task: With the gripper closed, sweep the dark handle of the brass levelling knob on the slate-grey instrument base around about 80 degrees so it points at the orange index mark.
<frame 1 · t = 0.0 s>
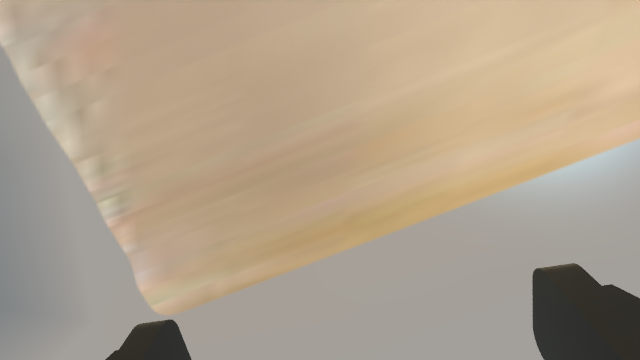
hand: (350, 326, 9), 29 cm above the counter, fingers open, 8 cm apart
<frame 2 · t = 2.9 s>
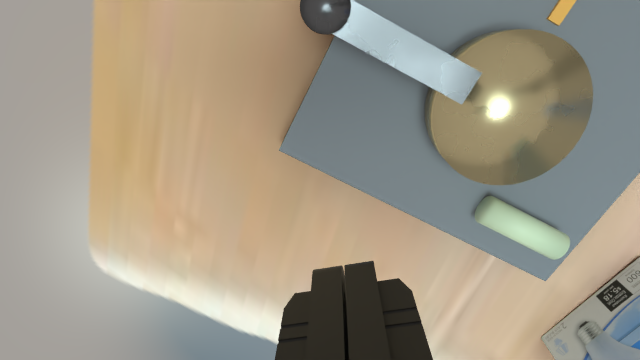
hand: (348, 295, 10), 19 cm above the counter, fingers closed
instrument base: (484, 101, 26), on the counter
light bulb box: (611, 316, 32), on the counter
brass knob: (449, 78, 21), point 5 cm above the counter, hinge at 0.0°
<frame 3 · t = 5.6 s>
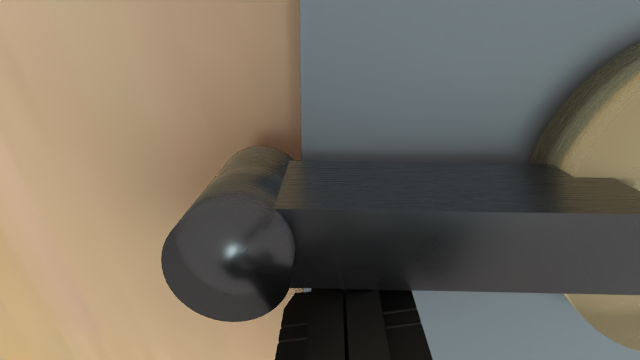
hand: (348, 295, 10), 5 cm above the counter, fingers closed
instrument base: (624, 160, 13), on the counter
brass knob: (576, 218, 9), point 5 cm above the counter, hinge at 0.0°, touching gripper
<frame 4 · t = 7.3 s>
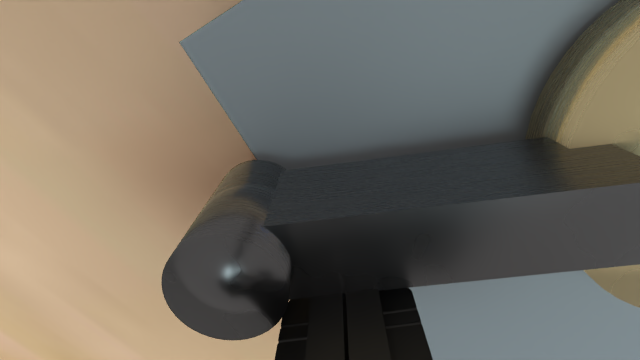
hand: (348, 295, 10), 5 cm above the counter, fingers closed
instrument base: (632, 116, 13), on the counter
brass knob: (576, 190, 9), point 5 cm above the counter, hinge at -21.2°, touching gripper
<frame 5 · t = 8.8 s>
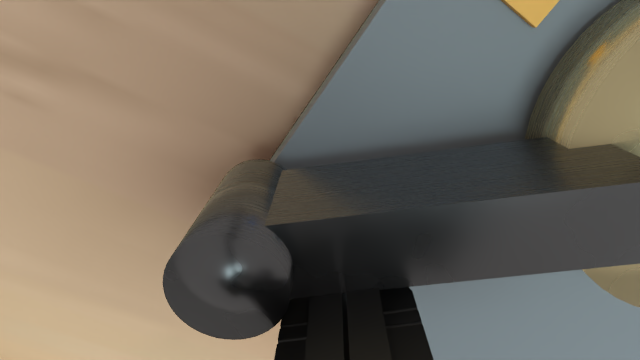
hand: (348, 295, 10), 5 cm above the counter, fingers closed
instrument base: (630, 117, 13), on the counter
brass knob: (576, 190, 9), point 5 cm above the counter, hinge at -47.1°, touching gripper
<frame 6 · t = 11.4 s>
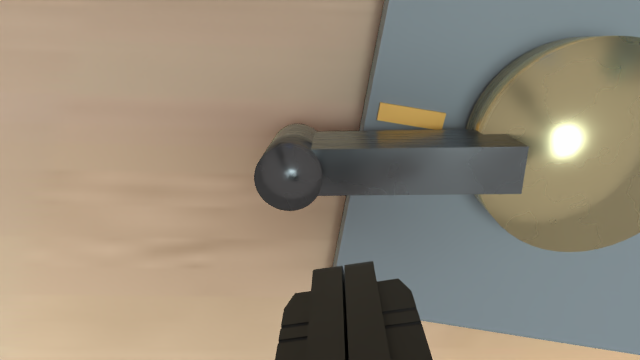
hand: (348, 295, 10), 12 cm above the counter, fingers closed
instrument base: (538, 131, 20), on the counter
brass knob: (484, 158, 15), point 5 cm above the counter, hinge at -79.6°
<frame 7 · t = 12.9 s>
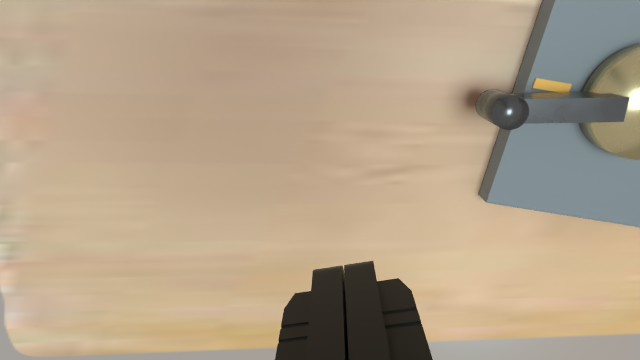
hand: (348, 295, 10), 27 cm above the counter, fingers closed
instrument base: (616, 96, 34), on the counter
brass knob: (600, 106, 30), point 5 cm above the counter, hinge at -79.6°
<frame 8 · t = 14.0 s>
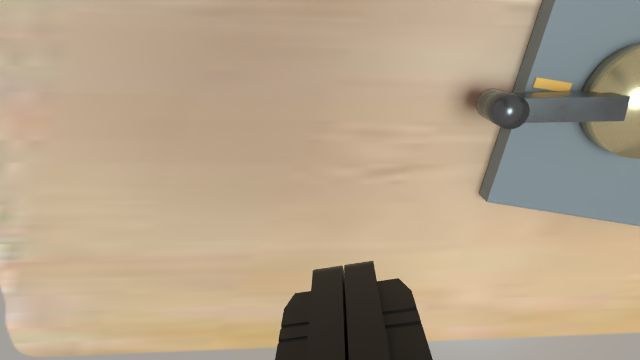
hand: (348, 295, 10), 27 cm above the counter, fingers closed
instrument base: (617, 95, 34), on the counter
brass knob: (600, 105, 30), point 5 cm above the counter, hinge at -79.6°
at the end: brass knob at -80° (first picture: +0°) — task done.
